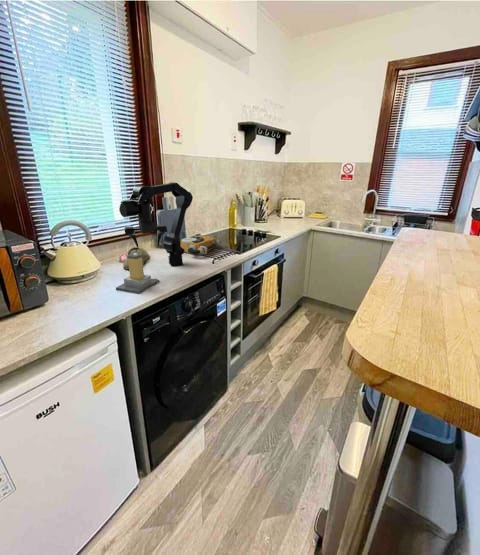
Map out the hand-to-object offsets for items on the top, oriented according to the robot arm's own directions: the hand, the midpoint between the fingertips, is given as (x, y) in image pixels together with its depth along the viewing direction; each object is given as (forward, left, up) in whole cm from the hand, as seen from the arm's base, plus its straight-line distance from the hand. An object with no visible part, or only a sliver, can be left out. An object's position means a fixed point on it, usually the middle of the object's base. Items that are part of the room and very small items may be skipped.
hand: (148, 247), depth 131 cm
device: (-32, -29, -13) cm, 45 cm away
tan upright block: (+7, +15, -12) cm, 20 cm away
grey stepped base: (+7, +15, -13) cm, 21 cm away
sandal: (+6, -21, -14) cm, 26 cm away
